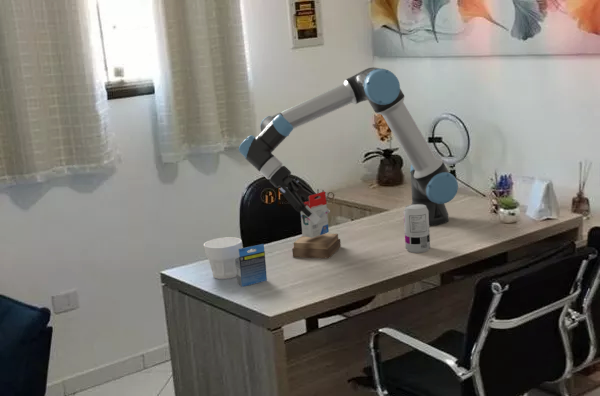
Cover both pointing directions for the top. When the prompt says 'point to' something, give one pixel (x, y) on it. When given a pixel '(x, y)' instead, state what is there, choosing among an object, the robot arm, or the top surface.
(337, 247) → the pedestal
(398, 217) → the top surface
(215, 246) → the cup
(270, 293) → the top surface
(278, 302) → the top surface
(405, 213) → the supplement can
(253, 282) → the label tape box
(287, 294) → the top surface
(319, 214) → the ink box
